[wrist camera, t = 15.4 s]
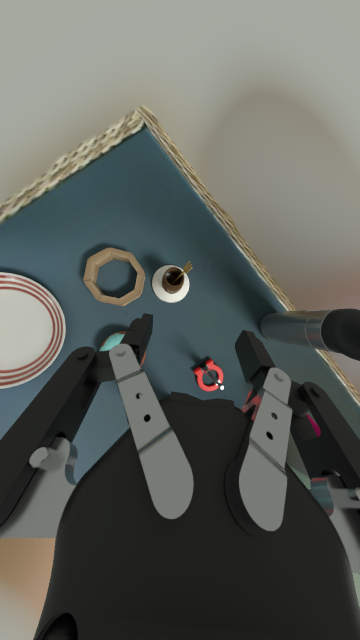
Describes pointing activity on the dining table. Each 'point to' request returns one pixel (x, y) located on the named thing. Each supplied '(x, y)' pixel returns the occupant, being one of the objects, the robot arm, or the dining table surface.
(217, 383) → the tow hook
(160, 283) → the coaster
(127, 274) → the dining table surface
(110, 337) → the donut
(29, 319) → the dinner plate
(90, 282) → the oak ring
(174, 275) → the utensil holder
